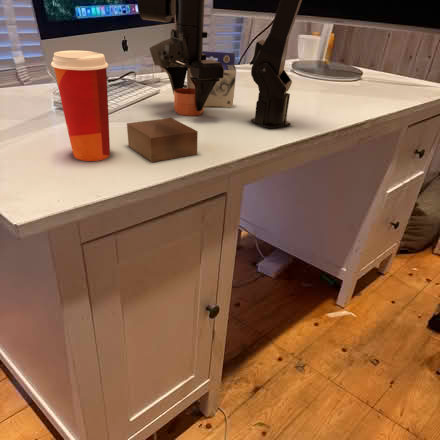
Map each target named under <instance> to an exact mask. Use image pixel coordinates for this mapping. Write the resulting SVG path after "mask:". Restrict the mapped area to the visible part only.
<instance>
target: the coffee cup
mask: <svg viewBox="0 0 440 440" xmlns="http://www.w3.org/2000/svg"><path fill="white" fill-rule="evenodd" d="M50 65H51V67H52V68H53V69H54V74H55V79H56V83H57V89H58V93H59V96H60V97H59V98H60V102H61V106H62V110H63V115H64V119H65V124H66V129H67V132H68V134H67V135H68V138H69V143H70V147H71V151H72V155H73V157H74V158H75V159H77V160H79V161H84V162H97V161H103V160H105V159H107V158H109V157H110V156H111V155H110V154H111V147H110V146H111V144H110V143H111V141H110V140H111V139H110V121H109V120H110V118H109V117H110V116H109V95H108V75H107V73H108V72H107V68H108V67H109V63H108V62H107V61H106V57H105V54H103V53H100V52H96V51H91V50H74V49H73V50H60V51H55V52H53V57H52V61H51V63H50Z"/></svg>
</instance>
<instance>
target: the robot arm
mask: <svg viewBox="0 0 440 440" xmlns="http://www.w3.org/2000/svg"><path fill="white" fill-rule="evenodd" d="M302 1H303V0H279V3H278V5H277V9H276V12H275V15H274V18H273V21H272V23H271V27H270V31H269V33H268V35H267V36H266V39H263V38H262V39H261V40H259V41H257V42H255V47H254V54H253V57H252V59H251V61H250V62H249V65H252V66H251V70H250V75H251V78H252V80H253V82H254V83H255V84H256V85H257V88H258V96H257V101H256V104H255V113H254V117H253V118H251V119H250V122H252V123H253V124H257V125H259V126H262V127H263V128H266V129H276V128H283V127H288V126H289V127H290V126H291V122H289V121H287V117H288V111H289V110H288V109H289V104H290V96H291V94H290V93H288V91H289V90H290V88H291V86H292V84H293V80H292V79H291V77H290V75H288V73H287V72H286V70H285V67H286V66H285V65H286V61H287V55H288V47H289V40H290V37H291V36H290V35H291V33H292V30H293V27H294V25H295V22H296V18H297V16H298V12H299V10H300V7H301V4H302ZM137 10H138V14H139V17H140V18H141V19H142V20H143V21H153V22H162V23H170V22H171V21H172V18H175V28H171V30H170V38H167V39H165V40H162V41H159V42H158V43H156V44H154V45H152V46H150V47H149V52H150V55H151V58H152V62H153V64H154V65H155V66H159V68H160V69H162V70H163V72H165V73H166V74H167V76H168V79H169V83H170V87H171V90H172V94H173V95H174V90H175V89H178V88H185V87H184V86H185V81H186V79H187V69H188V68H190V72H191V75H192V77H190V79H191V81H192V82H193V84H194V85H195V99H196V110H197V111H201V110H202V108H203V106H204V104H205V102H206V100H207V98H208V96H209V94H210V92H211V91H212V89H213V87H214V86H215V84H216V82H218V81H219V80H220V78H223V77H224V66H223V65H222V64H221V63H220V62H217V60H213V59H207V58H206V55H205V54H202V51H203V47H204V39H208V32H207V31H204V21H205V0H137ZM204 107H205V106H204Z"/></svg>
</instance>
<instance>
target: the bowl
mask: <svg viewBox="0 0 440 440" xmlns="http://www.w3.org/2000/svg"><path fill="white" fill-rule="evenodd" d="M173 110H174V112H176V113H177V114H178V115H181V116H185V117H186V116H187V117H194V116H200V115H202V113H204V111H205V106H203V108H202V110H201V111H197V110H196V99H195V88H187V87H183V88H178V89H175V90H174V94H173Z"/></svg>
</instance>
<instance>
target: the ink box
mask: <svg viewBox="0 0 440 440" xmlns="http://www.w3.org/2000/svg"><path fill="white" fill-rule="evenodd" d="M202 54H205V55H206V59H207V58H211V57H212V58H213V59H217V60H216V61H217V62H220V63H221V64H222V65H223V66H224V77H223V78H220V80H219V81H218V82H216V84H215V86H214V87H213V89H212V91H211V92H210V94H209V96H208V98H207V100H206V102H205V104H204V107H222V108H233V107H234V99H235V98H234V97H235V88H236V79H237V78H236V77H237V68H236V64H235V63H236V53H235V52H227V51H225V52H223V51H207V50H206V51H205V50H204V51H202ZM190 77H192V75H191V72H190V68H188V69H187V73H186V88H195V85H194V84H193V82H192V81H191V79H190Z"/></svg>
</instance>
